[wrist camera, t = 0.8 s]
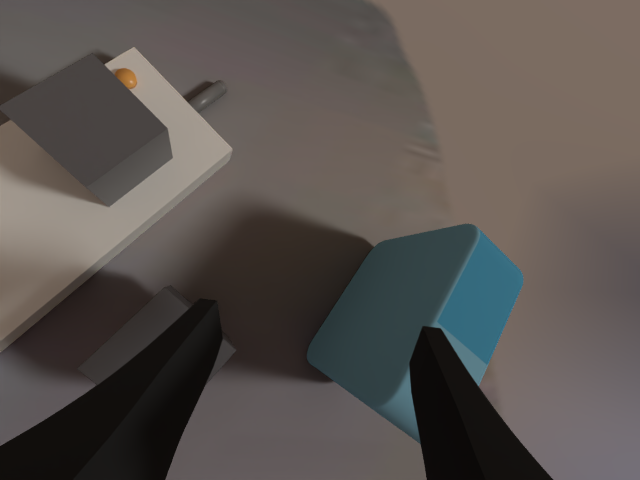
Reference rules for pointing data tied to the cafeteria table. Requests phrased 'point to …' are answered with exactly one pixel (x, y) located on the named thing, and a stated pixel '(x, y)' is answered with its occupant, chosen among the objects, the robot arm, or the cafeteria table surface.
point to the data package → (415, 314)
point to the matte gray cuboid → (145, 336)
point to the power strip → (74, 217)
